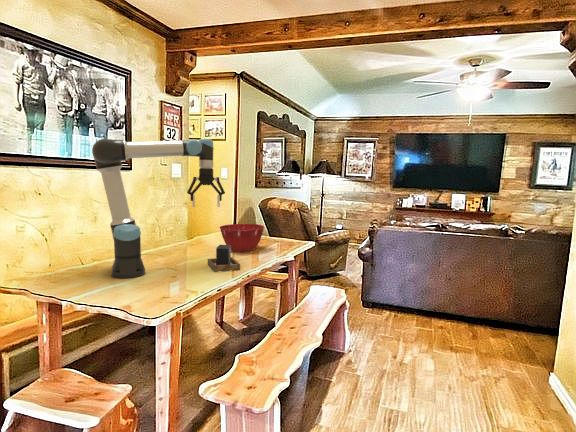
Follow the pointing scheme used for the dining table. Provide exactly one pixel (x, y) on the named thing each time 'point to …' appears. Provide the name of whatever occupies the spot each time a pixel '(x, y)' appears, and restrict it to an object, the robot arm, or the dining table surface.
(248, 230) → the mixing bowl
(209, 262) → the walnut tray
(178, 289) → the dining table surface
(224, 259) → the small box
